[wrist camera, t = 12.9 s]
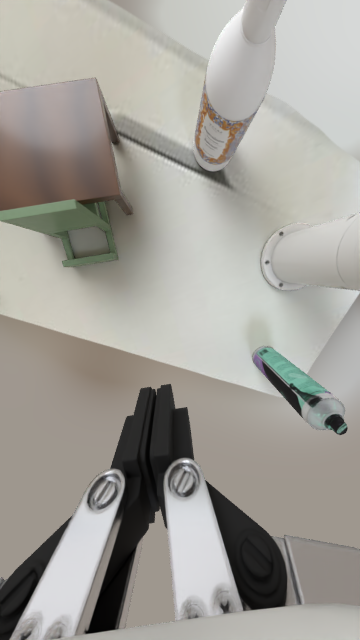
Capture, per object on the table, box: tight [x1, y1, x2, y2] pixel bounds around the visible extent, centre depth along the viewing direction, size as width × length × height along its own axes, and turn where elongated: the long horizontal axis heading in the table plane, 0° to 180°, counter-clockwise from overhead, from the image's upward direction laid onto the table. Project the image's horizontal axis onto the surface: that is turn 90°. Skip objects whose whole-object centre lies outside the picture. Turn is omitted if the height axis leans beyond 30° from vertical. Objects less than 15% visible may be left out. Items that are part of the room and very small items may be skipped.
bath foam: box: [193, 0, 286, 171], centre depth 21 cm, size 7×7×20 cm
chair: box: [0, 199, 118, 267], centre depth 27 cm, size 9×14×13 cm, turn 9°
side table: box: [0, 78, 133, 215], centre depth 27 cm, size 17×12×9 cm
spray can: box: [253, 346, 347, 435], centre depth 32 cm, size 6×6×20 cm
